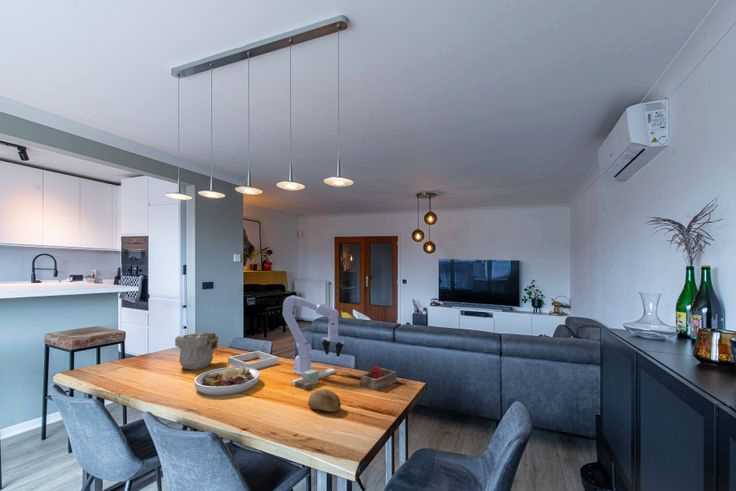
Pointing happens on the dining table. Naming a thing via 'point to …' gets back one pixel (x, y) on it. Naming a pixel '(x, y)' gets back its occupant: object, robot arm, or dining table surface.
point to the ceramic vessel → (196, 349)
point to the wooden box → (379, 383)
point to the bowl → (227, 380)
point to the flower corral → (265, 357)
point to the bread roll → (324, 400)
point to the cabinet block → (311, 376)
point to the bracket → (378, 373)
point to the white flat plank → (321, 374)
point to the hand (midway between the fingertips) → (332, 355)
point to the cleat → (303, 384)
